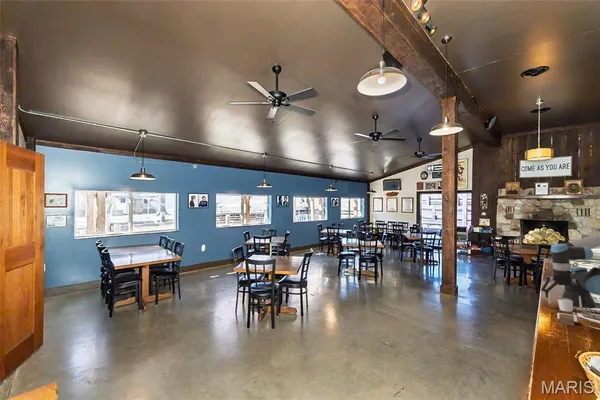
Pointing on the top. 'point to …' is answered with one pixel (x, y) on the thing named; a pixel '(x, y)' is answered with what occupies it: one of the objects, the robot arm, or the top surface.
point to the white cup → (565, 304)
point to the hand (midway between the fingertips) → (564, 305)
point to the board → (567, 314)
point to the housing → (566, 319)
